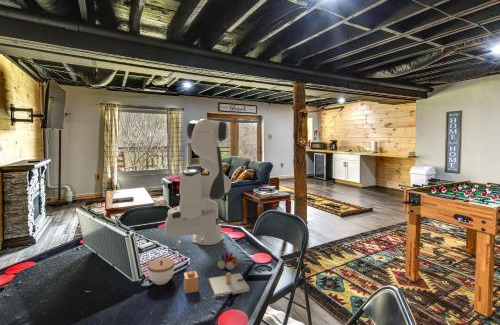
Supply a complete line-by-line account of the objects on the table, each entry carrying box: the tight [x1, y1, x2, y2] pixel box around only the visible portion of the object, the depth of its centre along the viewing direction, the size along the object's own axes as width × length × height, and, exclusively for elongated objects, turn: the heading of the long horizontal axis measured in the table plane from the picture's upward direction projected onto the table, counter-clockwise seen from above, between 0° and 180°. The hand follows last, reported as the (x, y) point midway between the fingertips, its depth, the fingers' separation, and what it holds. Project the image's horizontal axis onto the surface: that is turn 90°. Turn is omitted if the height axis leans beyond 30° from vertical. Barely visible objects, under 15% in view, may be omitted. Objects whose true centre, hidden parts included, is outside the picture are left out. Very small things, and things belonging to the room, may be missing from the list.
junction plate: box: [208, 272, 250, 298], centre depth 111 cm, size 12×14×6 cm
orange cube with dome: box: [183, 270, 199, 294], centre depth 108 cm, size 5×5×7 cm
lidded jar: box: [147, 257, 175, 286], centre depth 113 cm, size 11×11×9 cm
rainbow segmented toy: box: [216, 251, 238, 271], centre depth 127 cm, size 8×10×7 cm
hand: (191, 244), depth 106 cm, fingers open, 8 cm apart
